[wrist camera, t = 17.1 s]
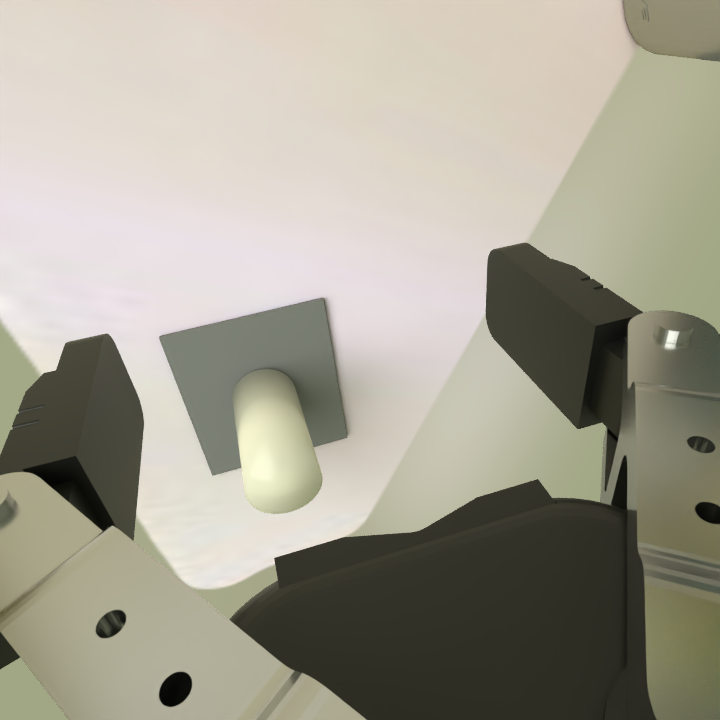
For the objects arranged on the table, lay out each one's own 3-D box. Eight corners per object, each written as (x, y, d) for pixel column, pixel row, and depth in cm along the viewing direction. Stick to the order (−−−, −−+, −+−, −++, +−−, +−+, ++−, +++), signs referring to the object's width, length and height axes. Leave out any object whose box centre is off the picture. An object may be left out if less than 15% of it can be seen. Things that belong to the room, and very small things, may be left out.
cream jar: (288, 362, 42) (315, 447, 34) (300, 410, 45) (327, 500, 37) (224, 378, 41) (236, 470, 33) (241, 427, 44) (255, 522, 36)
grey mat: (322, 297, 40) (323, 300, 40) (346, 434, 48) (347, 437, 48) (159, 336, 38) (159, 339, 38) (212, 472, 46) (212, 475, 46)
